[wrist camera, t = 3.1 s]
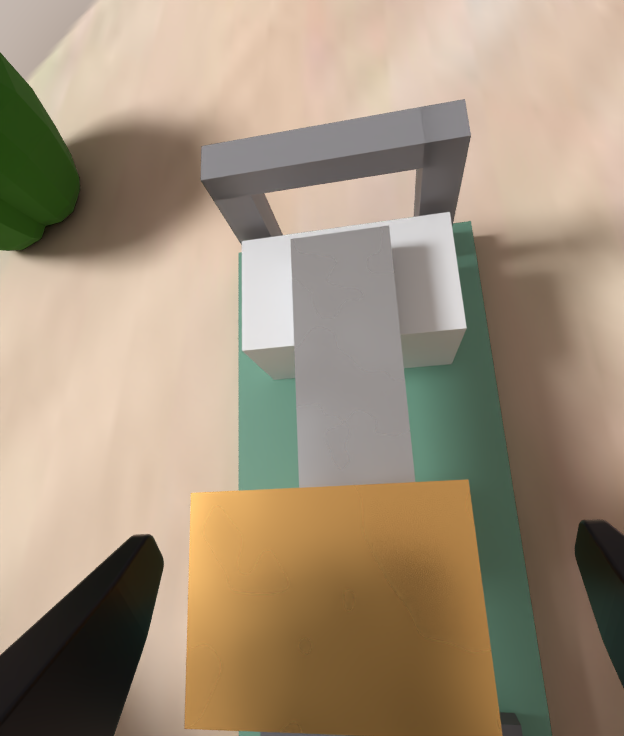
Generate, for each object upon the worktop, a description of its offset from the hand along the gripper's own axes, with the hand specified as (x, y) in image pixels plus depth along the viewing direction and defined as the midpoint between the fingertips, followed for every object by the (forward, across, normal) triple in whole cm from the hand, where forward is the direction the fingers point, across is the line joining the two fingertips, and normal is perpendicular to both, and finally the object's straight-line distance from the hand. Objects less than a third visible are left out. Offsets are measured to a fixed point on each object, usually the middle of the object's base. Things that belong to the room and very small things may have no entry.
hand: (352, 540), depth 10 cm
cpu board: (+7, 0, +5) cm, 8 cm away
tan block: (+7, 0, +3) cm, 8 cm away
